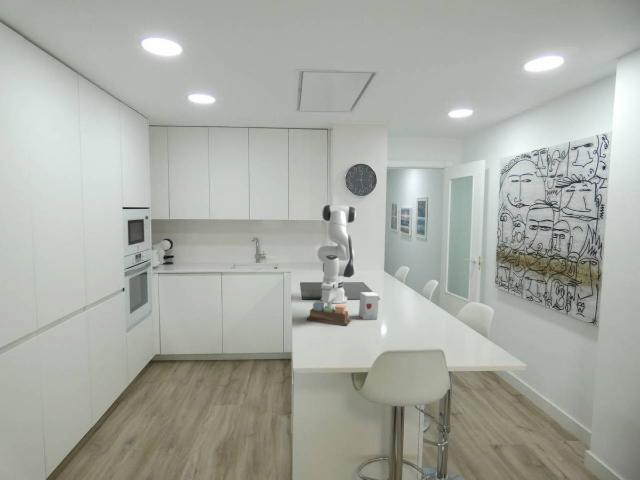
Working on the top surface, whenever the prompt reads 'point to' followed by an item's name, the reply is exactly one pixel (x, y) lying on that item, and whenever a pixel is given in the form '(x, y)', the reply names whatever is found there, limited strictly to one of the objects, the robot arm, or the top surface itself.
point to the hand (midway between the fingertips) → (329, 306)
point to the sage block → (329, 309)
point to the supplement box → (368, 305)
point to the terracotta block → (340, 309)
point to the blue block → (318, 306)
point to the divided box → (329, 317)
